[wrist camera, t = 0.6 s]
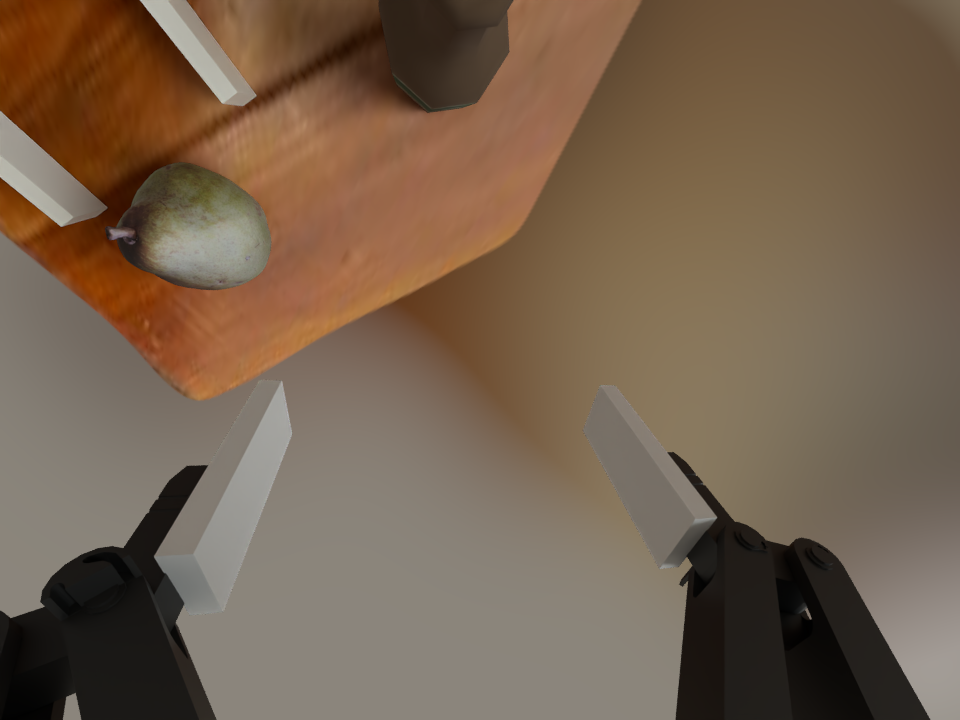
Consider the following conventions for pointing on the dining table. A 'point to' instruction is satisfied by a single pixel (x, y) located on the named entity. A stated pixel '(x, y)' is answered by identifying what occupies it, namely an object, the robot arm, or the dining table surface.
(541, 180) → the dining table surface
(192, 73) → the dining table surface
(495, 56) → the beer bottle
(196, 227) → the fruit
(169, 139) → the dining table surface
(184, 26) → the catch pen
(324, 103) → the dining table surface
